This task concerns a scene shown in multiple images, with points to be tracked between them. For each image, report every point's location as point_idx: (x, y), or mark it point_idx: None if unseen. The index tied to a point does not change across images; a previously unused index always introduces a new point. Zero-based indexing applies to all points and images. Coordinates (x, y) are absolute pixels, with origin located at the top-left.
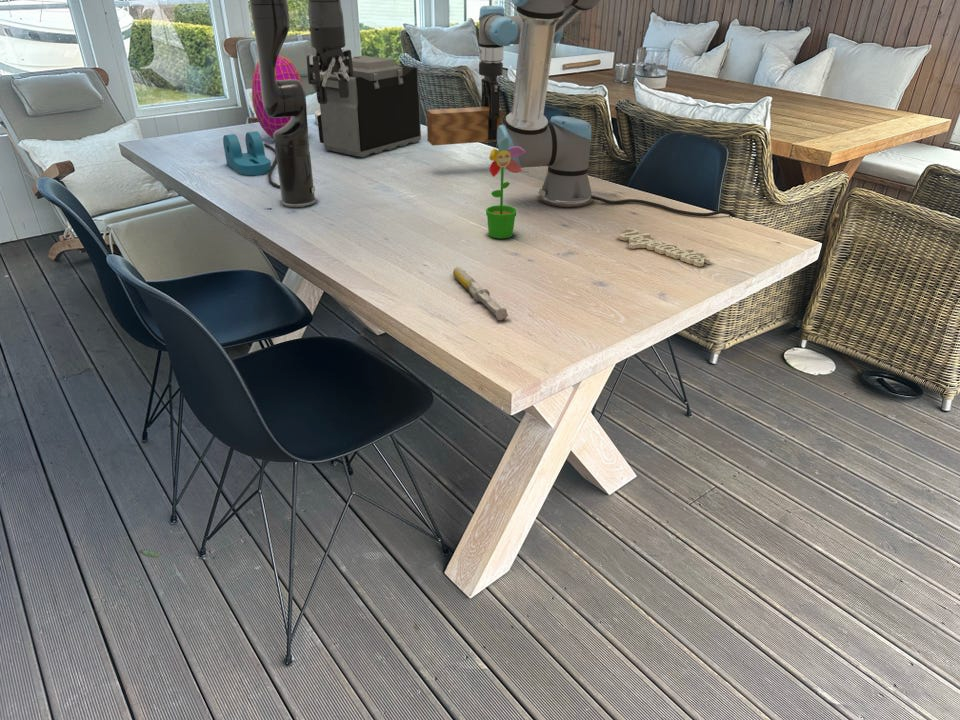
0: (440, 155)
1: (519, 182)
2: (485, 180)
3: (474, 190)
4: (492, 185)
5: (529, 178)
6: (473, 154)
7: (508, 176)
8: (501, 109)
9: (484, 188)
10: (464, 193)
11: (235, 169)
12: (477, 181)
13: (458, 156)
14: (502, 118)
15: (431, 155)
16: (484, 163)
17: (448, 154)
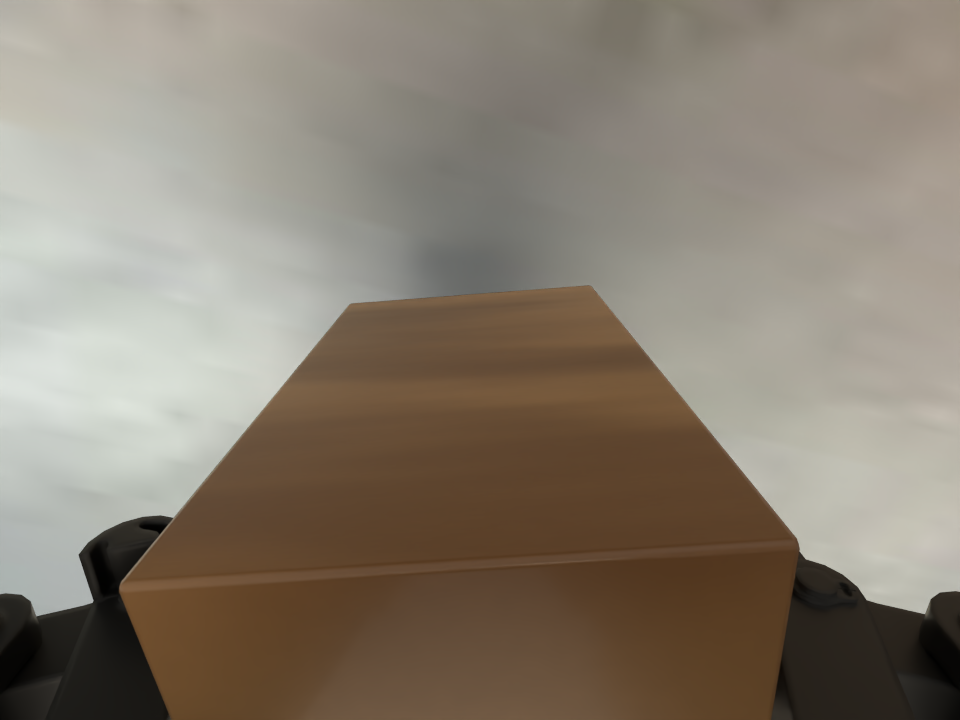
0: (63, 527)
1: (882, 173)
2: (732, 396)
3: (904, 504)
4: (860, 382)
5: (815, 47)
6: (12, 310)
7: (696, 211)
8: (742, 571)
9: (896, 444)
10: (929, 562)
11: None
12: (734, 448)
13: (84, 427)
14: (688, 409)
15: (67, 574)
16: (294, 294)
17: (30, 477)
